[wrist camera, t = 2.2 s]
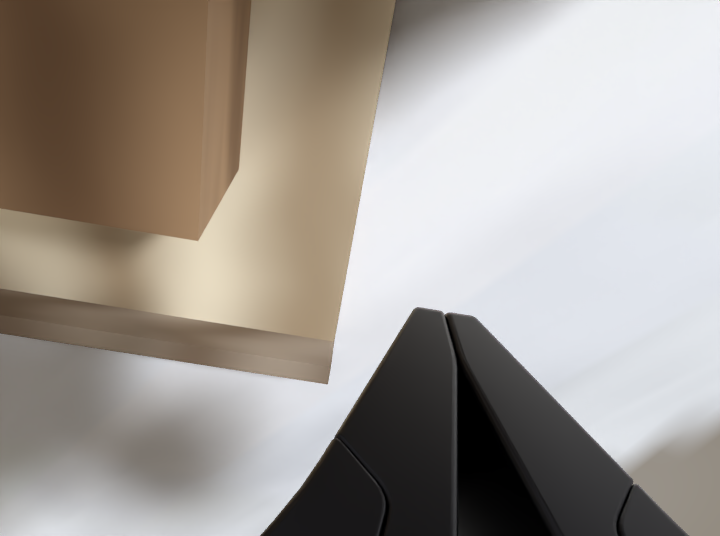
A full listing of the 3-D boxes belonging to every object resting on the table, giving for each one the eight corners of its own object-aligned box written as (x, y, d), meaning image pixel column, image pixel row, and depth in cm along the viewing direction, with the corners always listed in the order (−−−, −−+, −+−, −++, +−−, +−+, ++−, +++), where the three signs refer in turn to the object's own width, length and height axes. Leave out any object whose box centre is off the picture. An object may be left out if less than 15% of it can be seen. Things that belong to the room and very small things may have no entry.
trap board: (454, -332, 15) (465, -369, 13) (332, 345, 25) (327, 384, 23) (-537, -542, 14) (-694, -617, 12) (-248, 253, 24) (-306, 285, 22)
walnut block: (253, -34, 17) (208, -13, 13) (238, 169, 20) (198, 241, 16) (33, -75, 17) (-88, -68, 13) (50, 136, 20) (-43, 201, 16)
